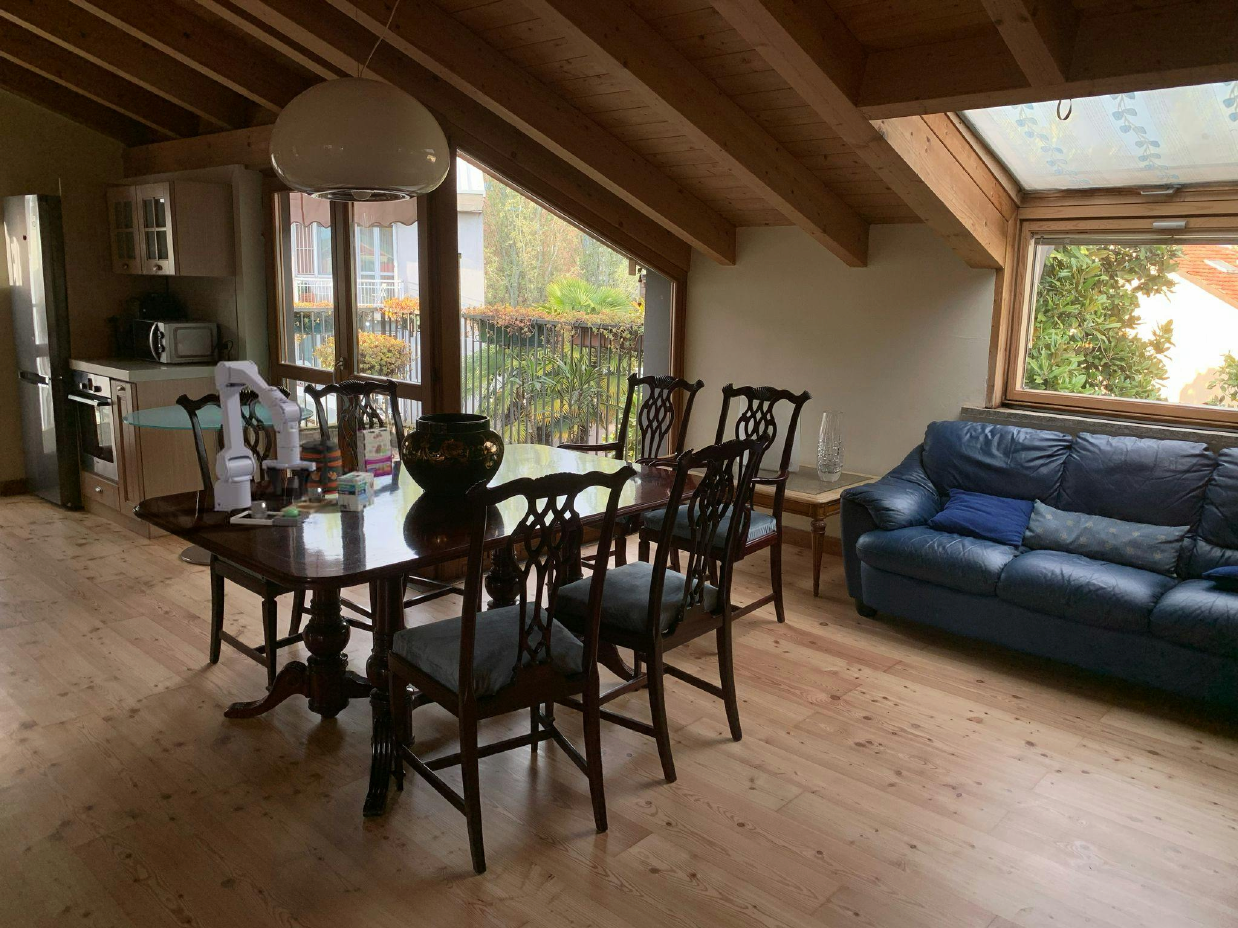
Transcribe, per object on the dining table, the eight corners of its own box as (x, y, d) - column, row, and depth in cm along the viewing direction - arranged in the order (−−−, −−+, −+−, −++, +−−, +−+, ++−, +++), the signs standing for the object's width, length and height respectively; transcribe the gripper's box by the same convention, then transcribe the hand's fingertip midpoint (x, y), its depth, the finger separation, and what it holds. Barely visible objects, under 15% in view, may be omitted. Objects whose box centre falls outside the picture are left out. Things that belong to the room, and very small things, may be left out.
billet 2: (306, 505, 276) (305, 488, 275) (312, 502, 280) (311, 485, 279) (319, 505, 276) (318, 489, 275) (325, 502, 279) (324, 486, 278)
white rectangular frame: (230, 524, 257) (230, 518, 257) (247, 516, 266) (247, 510, 266) (272, 526, 256) (271, 520, 255) (287, 518, 265) (287, 512, 264)
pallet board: (280, 517, 266) (280, 509, 265) (307, 504, 282) (307, 497, 282) (310, 518, 265) (310, 511, 264) (335, 505, 281) (335, 498, 281)
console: (273, 526, 256) (273, 517, 255) (285, 520, 262) (285, 511, 262) (297, 527, 255) (297, 519, 254) (309, 521, 262) (309, 513, 261)
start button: (282, 518, 257) (281, 511, 256) (288, 515, 260) (288, 508, 260) (294, 519, 256) (294, 511, 256) (300, 515, 260) (300, 508, 259)
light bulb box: (358, 515, 270) (357, 479, 268) (337, 513, 271) (336, 477, 269) (375, 507, 280) (374, 472, 278) (354, 505, 282) (353, 470, 280)
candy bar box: (384, 472, 332) (383, 427, 329) (393, 474, 329) (391, 428, 326) (357, 476, 324) (355, 430, 321) (365, 478, 321) (364, 431, 318)
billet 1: (249, 521, 259) (248, 503, 258) (256, 517, 263) (255, 500, 262) (262, 521, 259) (261, 504, 258) (269, 518, 262) (268, 501, 262)
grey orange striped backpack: (355, 499, 290) (353, 436, 287) (307, 503, 283) (304, 439, 279) (339, 487, 306) (337, 427, 303) (293, 491, 299) (290, 430, 295)
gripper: (255, 447, 252) (258, 496, 254) (306, 449, 250) (308, 499, 252) (268, 443, 258) (270, 491, 261) (318, 445, 257) (320, 493, 259)
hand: (290, 494), depth 257 cm, fingers open, 6 cm apart
